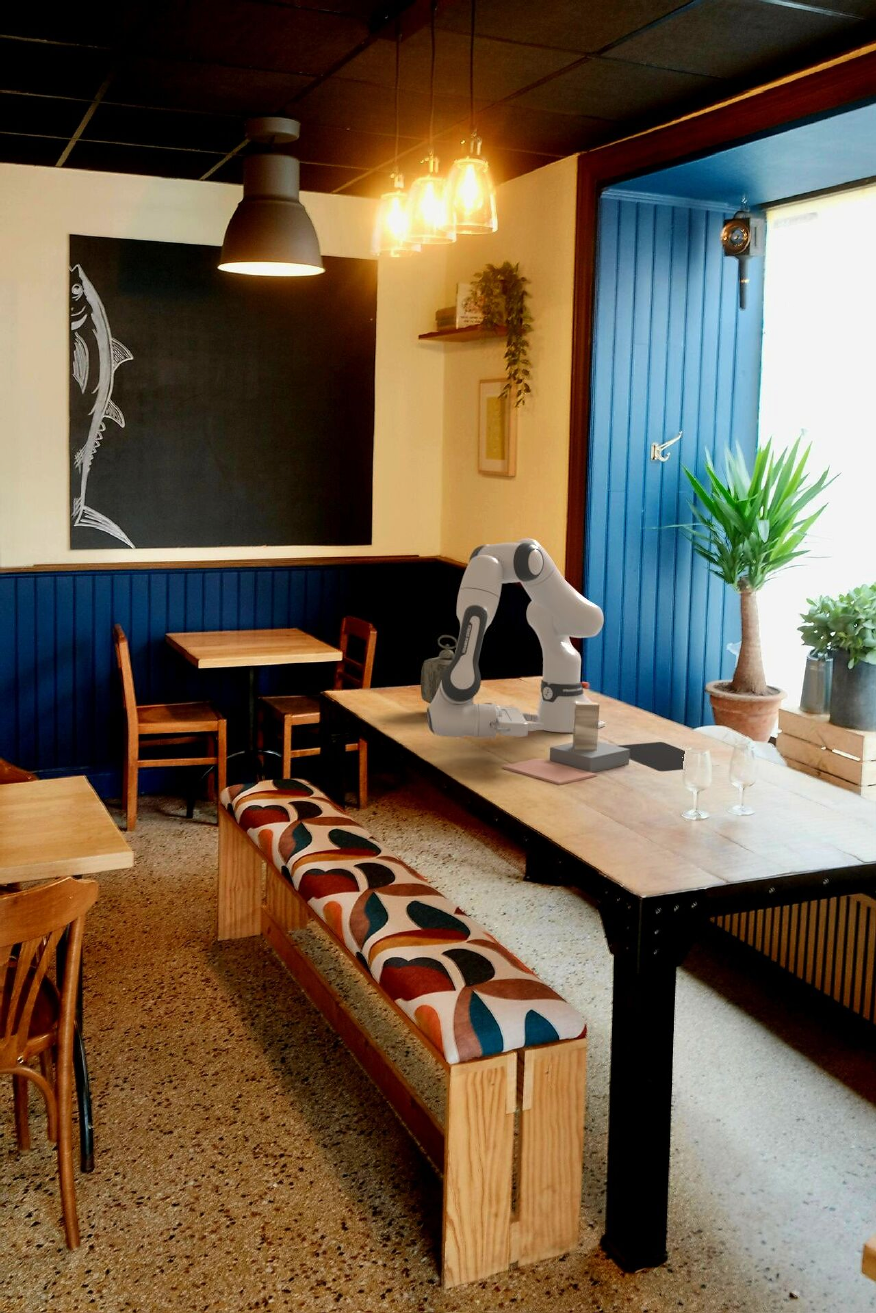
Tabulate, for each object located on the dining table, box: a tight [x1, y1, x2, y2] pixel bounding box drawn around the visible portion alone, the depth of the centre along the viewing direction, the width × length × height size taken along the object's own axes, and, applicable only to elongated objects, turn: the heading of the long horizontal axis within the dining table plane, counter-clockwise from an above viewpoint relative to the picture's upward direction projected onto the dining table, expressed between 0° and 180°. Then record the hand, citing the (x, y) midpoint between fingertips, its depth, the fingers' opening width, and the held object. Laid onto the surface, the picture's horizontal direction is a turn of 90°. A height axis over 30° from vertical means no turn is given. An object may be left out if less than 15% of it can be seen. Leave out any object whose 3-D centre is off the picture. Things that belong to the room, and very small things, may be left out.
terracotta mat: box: [501, 757, 598, 786], centre depth 316 cm, size 14×20×1 cm
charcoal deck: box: [549, 740, 630, 773], centre depth 326 cm, size 16×14×4 cm
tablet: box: [618, 741, 686, 772], centre depth 336 cm, size 27×1×20 cm
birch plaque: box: [572, 702, 600, 750], centre depth 325 cm, size 3×6×12 cm, turn 94°
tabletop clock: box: [420, 634, 458, 705], centre depth 376 cm, size 14×9×25 cm, turn 58°
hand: (540, 722), depth 324 cm, fingers open, 8 cm apart
